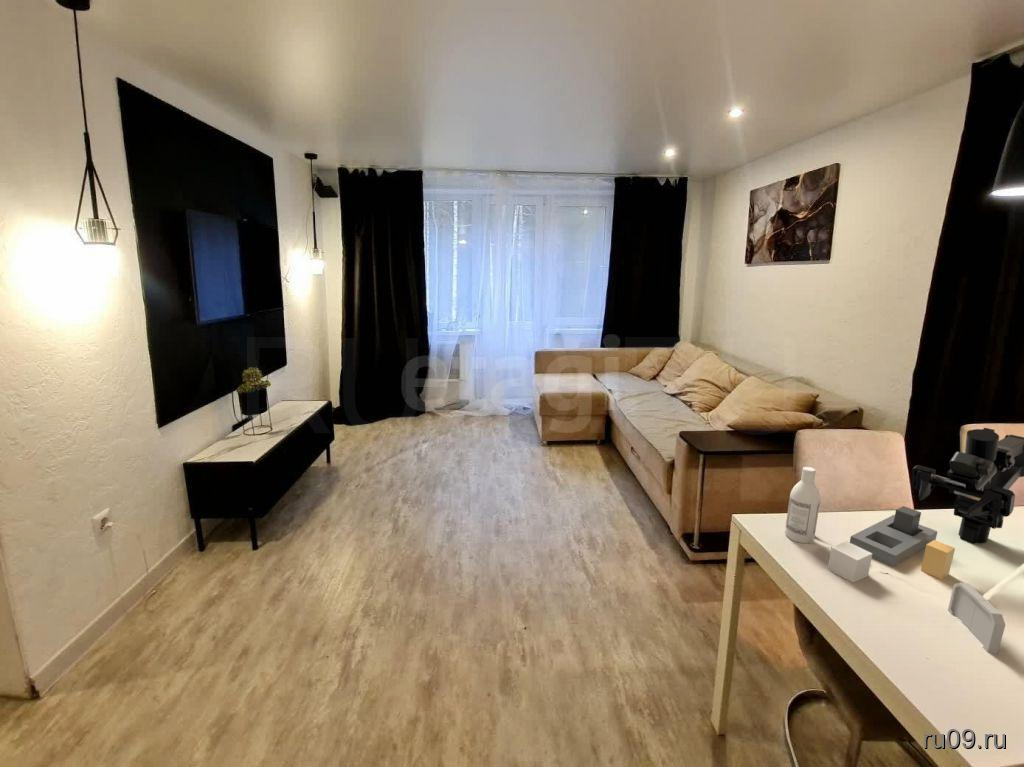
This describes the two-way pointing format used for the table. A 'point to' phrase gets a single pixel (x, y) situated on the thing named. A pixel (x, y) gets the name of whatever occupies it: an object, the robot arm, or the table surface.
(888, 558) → the grey piece
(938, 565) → the amber plug
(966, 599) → the light switch
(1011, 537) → the table surface
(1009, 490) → the robot arm
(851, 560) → the white cube
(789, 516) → the bath foam
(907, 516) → the dark gray plug
